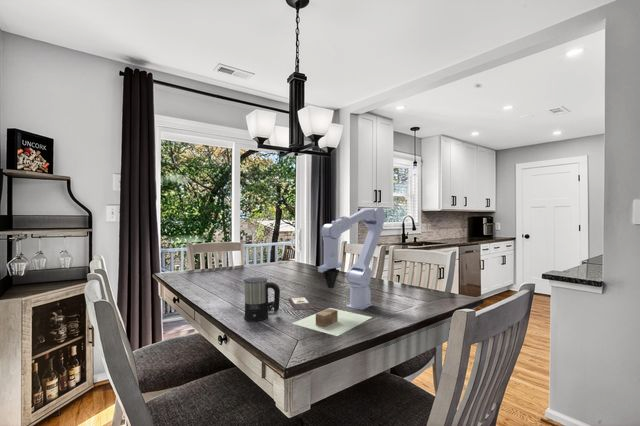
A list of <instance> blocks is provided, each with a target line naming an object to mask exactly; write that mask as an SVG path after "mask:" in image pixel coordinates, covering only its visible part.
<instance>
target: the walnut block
mask: <svg viewBox="0 0 640 426" xmlns="http://www.w3.org/2000/svg"><path fill="white" fill-rule="evenodd" d="M333 309H334V308H333ZM333 309H328V308H326V309H325V310H324V311H323V310H321V311H319V313H318V312H316V313H317V314H316V313H315V314H316V325H318V326H321V327H327V326H329V325H331V324H333V323H335V322H337V321H338V310H339V309H337V310H333Z"/></svg>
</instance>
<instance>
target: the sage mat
mask: <svg viewBox="0 0 640 426" xmlns="http://www.w3.org/2000/svg"><path fill="white" fill-rule="evenodd" d="M327 309H333V310H338V321H337V322H335V323H333V324H331V325H329V326H327V327H321V326H318V325H316V314H317V313H319V312H320V311H319V312H316V313H314V314H311V315H309V316H307V317H303V318H301V319H299V320H296V321H294V322H292V323H291V324H292V325H295V326H299V327H302V328H305V329H310V330H313V331H317V332H321V333H325V334H327V335H331V336H336V337H338V336H340V335H342V334H344V333H347V332H348V331H350V330H352V329H354V328H355V327H357V326H359V325H361V324H363V323H365V322H366V321H368V320H370V319H372V318H373V317H372V316H369V315H364V314H359V313H355V312H350V311H345V310H341V309H337V308H332V307H328V308H327ZM322 311H324V310H322Z"/></svg>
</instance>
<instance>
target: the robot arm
mask: <svg viewBox="0 0 640 426" xmlns="http://www.w3.org/2000/svg"><path fill="white" fill-rule="evenodd" d="M386 218H387V217H386V213H385V210H384V209H383V207H363V208H360V210H359V211H356V212H355V213H353V214H351V215H350V216H346V215H345V216H344V215H340V216H339V218H338V219H336V220H332V221H331V223H325V224H323V226H322V227H321V229H320V234H321V237H322V241H323V264H322V265H320V266H318V267H317V272H318V273H322V275H323V276H324V278H325V281H326V285H327V289H333V288H334V287H335V284H336V280H337V277H338V275H339V273H340V269H339V268H341V269H342V268H343V264H344V263H343V262H339V243H338V242H339V239H340V237H341V235H342V234H343V233H345V232H346V231H348V230H350V229H351V228H352V227H353V225H354V224H356V223H359V222H361V221H362V222H363V223H364V225H365V226H366V228H368V232H367V234H366V237H365V240H364V242H363V245H362V247H361V251H360V253H359V256H358V258H357V262H355V263H353V264H352V265H351V267H350V269H349V270H348V271H347V272H346V279H345V280H346V282H348V285H349V288H350V289H349V304H346V305H345V306H346V307H347V308H350V309H351V308H353V309H356V310H361V311H362V310H365V309H367V308H369V307H371V306H373V303H372V302H371V300H372V299H371V298H372V297H371V296H372V295H371V294H372V293H371V288H370V286H369V285H370V284H371V281H372V274H373V270H372V269H371V267H370V265H371V262H372V259H373V257H374V255H375V251H376V248H377V246H378V242H379V240H380V237H381V235H382V231H383V226H384V225H385V224H384V223H385V220H386Z"/></svg>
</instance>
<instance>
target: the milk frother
mask: <svg viewBox="0 0 640 426" xmlns="http://www.w3.org/2000/svg"><path fill="white" fill-rule="evenodd" d="M243 282H244V317H243V319H244V320H245V321H248V322H257V321H262V320H263V321H264V320H266V319H267V318H269V314H268V313H269V311H271V310H272V309H273V311H274V312H278V311H279V309H280V299H281V289H280V286H279V285H278V284H277V283H275V282H272V281H268V277H260V276H257V277H248V278H245V279H243ZM269 289H271V290H273V291H274V294H273V296H274V297H273V301H269Z"/></svg>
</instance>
